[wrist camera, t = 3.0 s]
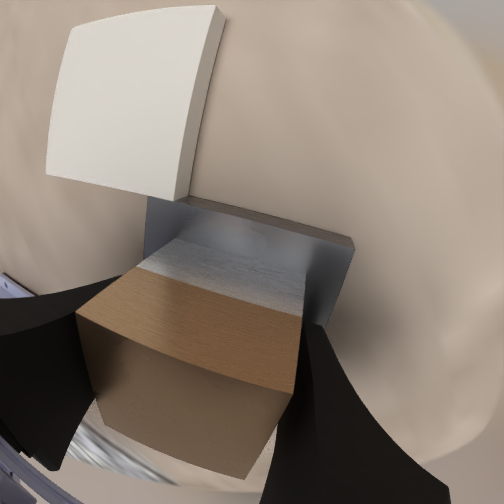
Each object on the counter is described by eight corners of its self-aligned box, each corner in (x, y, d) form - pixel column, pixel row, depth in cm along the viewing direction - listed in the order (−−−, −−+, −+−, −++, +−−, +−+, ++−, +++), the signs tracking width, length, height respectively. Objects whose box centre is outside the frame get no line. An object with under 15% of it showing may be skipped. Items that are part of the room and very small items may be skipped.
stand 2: (155, 333, 13) (143, 348, 12) (164, 190, 10) (147, 195, 9) (295, 378, 12) (292, 397, 11) (350, 237, 9) (355, 249, 8)
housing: (168, 338, 11) (104, 424, 7) (175, 238, 9) (74, 312, 5) (271, 371, 11) (244, 479, 6) (305, 274, 9) (293, 393, 4)
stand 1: (63, 170, 11) (45, 174, 10) (88, 33, 8) (72, 27, 7) (188, 195, 10) (173, 201, 9) (226, 18, 7) (215, 5, 6)
